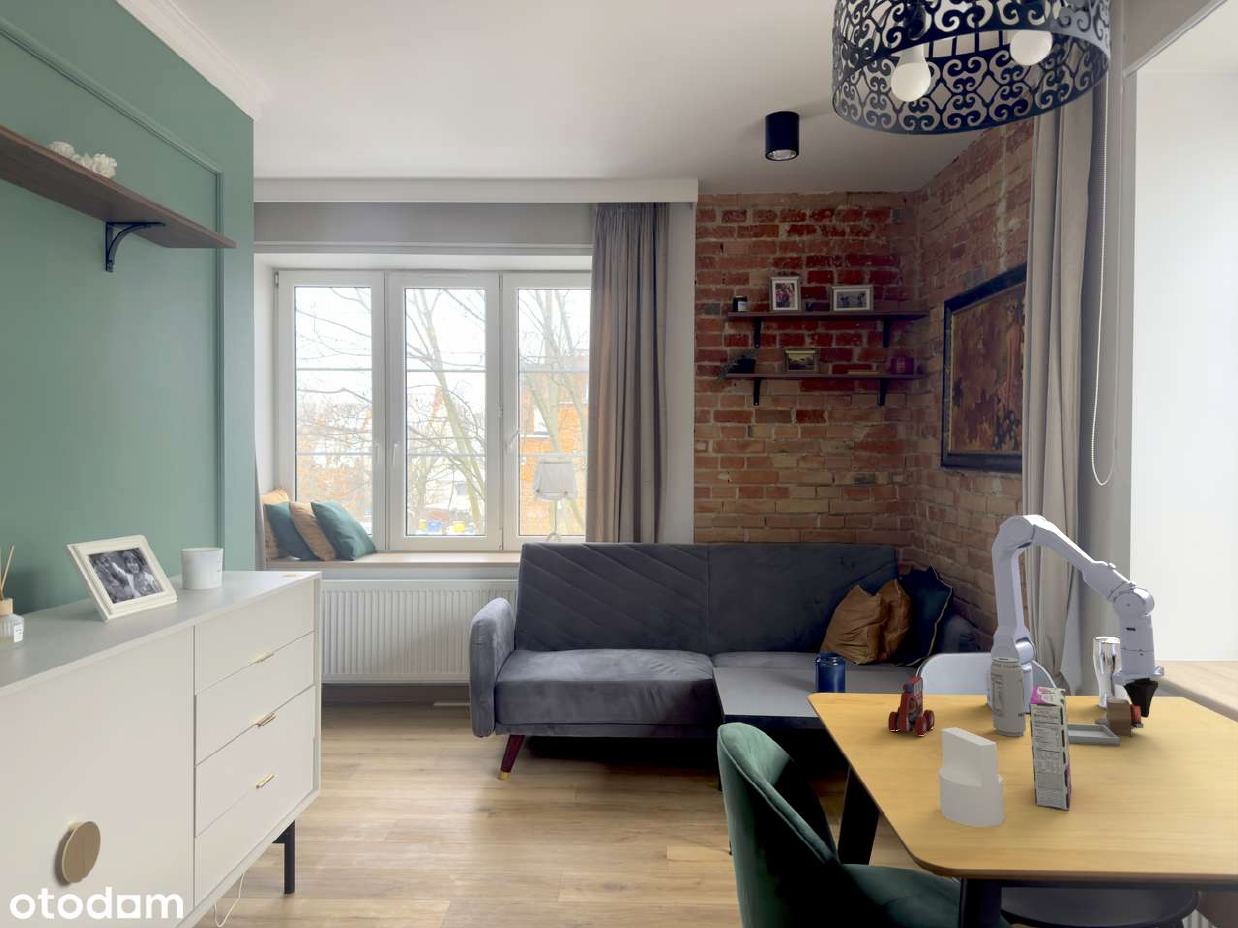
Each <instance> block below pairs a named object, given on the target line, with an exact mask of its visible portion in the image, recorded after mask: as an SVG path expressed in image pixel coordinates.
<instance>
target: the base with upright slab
mask: <svg viewBox="0 0 1238 928" xmlns="http://www.w3.org/2000/svg"><path fill="white" fill-rule="evenodd" d="M941 745H942V765H943V767H941V768H940V769H939V771H938V777H939V778H938V779H939V782H938V783H939V799H940V800H939V801H940V803H939V804H940V813H941V812H942V813H941V815H942V814H943V815H944V816H945V817H944V816H943V815H942V816H943V817H944V818H946V819H947V820H949V821H951V822H953V823H955V824H959V825H962V826H963V825H964V826H969V827H973V826H976V828H992V827H997V826H1000V825H1002V824H1003V823H1004V822H1005V820H1006V819H1005V800H1004V783H1003V782H1004V781H1003V776H1001V774H999V767H998V766H999V765H998V761H999V760H998V746H997V745H998V743H997V742H995V741H993V740H989V739H988V738H985V737H982V736H980V735H977V734H975V733H973V732H969V731H967V730H964V729H962V728H960V727H947V728H941Z"/></svg>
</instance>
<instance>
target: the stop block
mask: <svg viewBox="0 0 1238 928" xmlns="http://www.w3.org/2000/svg"><path fill="white" fill-rule="evenodd" d="M1106 701H1107V709H1106V711H1107V719H1108V727H1107V728H1108V729H1110V730H1111V731H1112V732H1113V733H1114V734H1115V735H1116V736H1117V737H1129V738H1132V729H1131V714H1130V704H1131V702H1130V701H1129V699H1128V700H1127V699H1115V698H1106ZM1128 701H1129V702H1128Z"/></svg>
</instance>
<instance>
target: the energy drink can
mask: <svg viewBox="0 0 1238 928" xmlns="http://www.w3.org/2000/svg"><path fill="white" fill-rule="evenodd" d="M989 666H990V669H991V690H992V709H991V711H992V726H993V729H995V732H996V733H997V734H999V735H1000V736H1001V735H1002V736H1007V737H1023V735H1024V732H1026V731H1027V723H1026V722H1027V720H1026V719H1027V717H1026V713H1025V697H1024V677H1023V667H1022V666H1021V664H1020V662H1019V659H1018V658H1014V657H1006V656H999V657H994V658H993V660H992V662H991V664H990V665H989Z"/></svg>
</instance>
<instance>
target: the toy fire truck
mask: <svg viewBox="0 0 1238 928" xmlns="http://www.w3.org/2000/svg"><path fill="white" fill-rule="evenodd" d="M923 689H924V680H923V677H922V676H916V675H915V676H914V677H913V678H912V679H910V680H908V682H906V683H904V684H903V685H902V690H903V692H902V693H901V695H900V702H899V706H898V708H897V711H890V713H889V715H888V720H887V721H888V722H887V725H888V730H889V731H890V730H895V731H896V730H898V729H900V730H899V731H901V732H904V733H907V732H908V733H909V732H912V731H913V729H914V733H915V735H916V734H917V735H924V734H925V733H926V734H927V731H928V730H927V729H931V728H932V727H933V726H935V719H936V717H935V712H934V711H933V710H931V709H925V710H924V704H923V703H924V701H923V700H924V699H923V698H924V697H923V694H924V693H923V691H924V690H923ZM926 734H925V735H926ZM917 735H916V736H917Z"/></svg>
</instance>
